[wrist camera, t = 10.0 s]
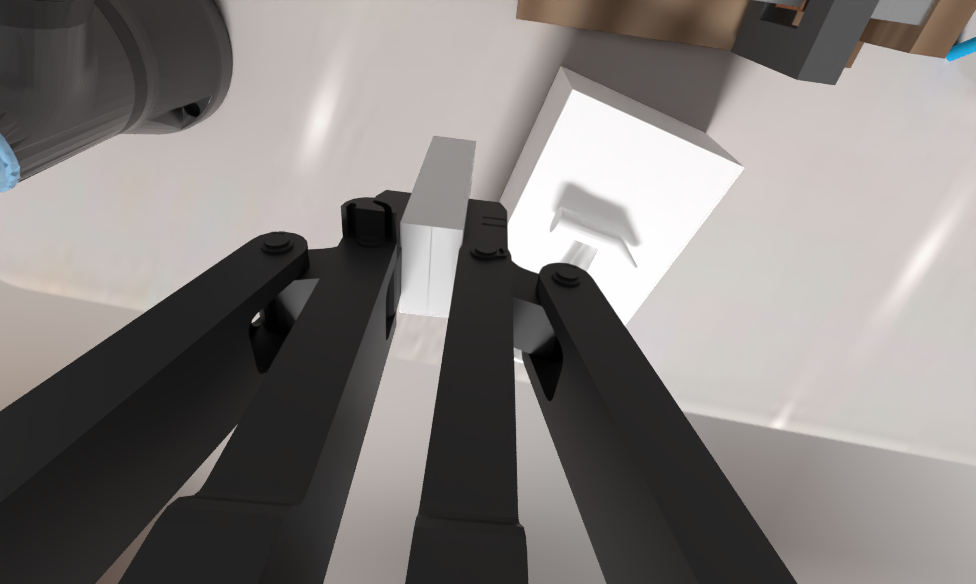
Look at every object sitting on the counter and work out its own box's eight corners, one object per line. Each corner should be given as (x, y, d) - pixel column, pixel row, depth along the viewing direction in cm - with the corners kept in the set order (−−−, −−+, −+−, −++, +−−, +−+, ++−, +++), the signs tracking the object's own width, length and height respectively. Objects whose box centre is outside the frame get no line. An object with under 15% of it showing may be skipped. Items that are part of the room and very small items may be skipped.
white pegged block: (704, 132, 42) (758, 179, 33) (572, 328, 56) (585, 399, 47) (560, 65, 39) (577, 97, 30) (458, 289, 53) (449, 357, 44)
